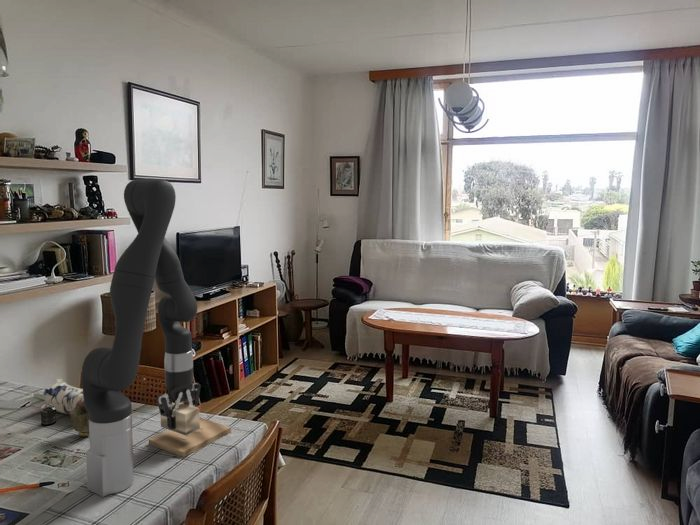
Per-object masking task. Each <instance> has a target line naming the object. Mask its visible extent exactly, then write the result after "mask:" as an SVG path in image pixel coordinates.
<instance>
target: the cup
mask: <svg viewBox="0 0 700 525" xmlns="http://www.w3.org/2000/svg"><path fill="white" fill-rule="evenodd" d="M69 417H70V421H71V426H72V428H73V429H74V431H75V432H78V433H77V435H78V436H79V437H81V438H87V437H89V415H88V411H87V410H86V408H85V405H84V404H83V405H82V406H81V407H79V406H78V407H77V409H76V408H73V409H71V411H70V415H69Z"/></svg>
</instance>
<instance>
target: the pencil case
mask: <svg viewBox="0 0 700 525" xmlns="http://www.w3.org/2000/svg"><path fill="white" fill-rule="evenodd" d="M55 380H56V381H55V383H54V384H52V385H51V386H50V387H49V389H48V388H45V389H44V391H43V394H42V396H45V397H44V404H45V406H46V405H47V404H52V405H53V406H54V407H55V408H56V411H55V412H56V413H61V414H65V415H68V416H70V411H71V409H73V408H76V409H77V407H78V406H79V407H81V406H82V405H83V404H84V397H83V388H79V387H76V386H75V387H74V386H73V385H69V384H68V383H67V382H65V381H64V380H63V378H58V379H55Z"/></svg>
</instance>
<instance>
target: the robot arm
mask: <svg viewBox="0 0 700 525" xmlns="http://www.w3.org/2000/svg"><path fill="white" fill-rule="evenodd" d="M175 191H176V190H175V188H174V186H173V184H172V183H171V182H170V181H168V180H165V179H150V178H148V179H145V178H144V179H142V178H141V179H139V178H138V179H133V180H130V181H128V183H127V184H126V186H125V187H124V190H123V199H124V200H123V201H124V203H125V204H124V205H125V208H126V209H127V212H128V215H129V217H130V218H131V221H132V222H133V225H134V227H135V229H136V231H137V235H136V237H135V238H134V239H133V240H132V242H131V243H130V244H129V245H128V247H127V248H126V249H125V250H124V252H123V253H122V254H121V256H120V257H119V259H118V260H117V261H116V264H115V266H114V270H113V273H112V278H111V283H110V287H109V299H110V303H111V308H112V312H113V316H114V323H115V334H114V340H113V344H112V347H106V346H105V347H96V348H94V349H92V350H91V351H90V352H88V354H87V355H86V356H85V358H84V360H83V363H82V366H81V367H82V368H81V385H82V387H81V388H82V389H83V397H84V405H85V408H86V410H87V411H88V415H89V436H88V437H89V449H88V450H86V451H85V458H86V459H85V461H86V462H85V463H86V483H87V484H86V486H87V489H86V490H88V491H90V492H92V493H94V494H97V495H99V496H100V497H103V498H104V497H106V496H108V495H115V494H117V493H120V492H122V491H125V490H127V489H129V487H131V486H132V485H133V483H134V481H135V478H134V476H135V473H134V448H133V447H134V446H133V445H134V444H133V443H134V442H133V413H132V412H133V408H132V407H133V406H132V401H131V400H130V399H129V398H128V397H127V396H126V395H125V394H124V393H123V392H124V391H126V390H128V388H130V387H131V386H132V384H133V383H134V381H135V380H136V377H137V374H138V372H139V371H138V370H139V367H140V360H141V350H142V343H143V334H144V329H145V323H146V318H147V313H148V307H149V303H150V298H151V295H152V291H153V288H154V284H155V283H154V282H156V286H157V288H158V289H159V291H161V292H162V293H165V294H166V295H163V296H162V297H161V298H160V300H159V302H158V303H157V304H158V305H157V316H158V321H159V324H160V328H161V330H162V333H163V336H164V351H165V352H164V361H163V362H164V384H165V386H166V389H165V393H164V394H162V395H157V396H156V403H157V406H158V411H159V414H160V416H161V415H162V416H165V417H167V426H168V427H169V429H172V430H174V429H175V428H176V418H175V414H176V410H177V409H178V407H179V403H183V404H187V405H191V406H194V407H195V406H197V405H198V404H199V400H200V393H201V387H202V385H201V383H199V382H194V357H193V356H194V355H193V351H192V350H193V344H192V342H193V341H192V332H191V331H190V330H189V329H188V328H186V327H184V326H182V325H181V323H188V322H189V323H190V322H191V321H193V320H195V318H196V316H197V313H198V303H197V299H196V297H195V295H194V293H193V291H192V289H190V286H189V284H188V283H187V282H186V280H185V277H184V272H183V269H182V265H181V262H180V259H179V257H178V255H177V252H176V251H175V249H174V248H173V246H172V245H171V244H170V242H169V241H168V240H167V238H166V234H167V231H168V227H170V226H169V225H170V222H171V220H172V216H173V213H174V211H175V207H176V199H177V198H176V197H177V196H176V192H175ZM180 322H181V323H180ZM172 403H175V404H172ZM171 409H172V412H171ZM169 429H168V430H169Z"/></svg>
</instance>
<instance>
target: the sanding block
mask: <svg viewBox="0 0 700 525" xmlns="http://www.w3.org/2000/svg"><path fill="white" fill-rule="evenodd" d="M172 404H175V403H172ZM171 412H172V409H171ZM199 417H200V408H199V407H197V406H195V405H194V406H191V405H187V404H183V402H181V403H179V407H178V409H177V410H176V414H175V418H176V428H175V429H174V430H172V429H169V427H168V426H167V417H165V416H162V415H160V428H163V429H165V430H166V429H167V430H172V431H174V432H177V433H180V434H183V435H188V434H190V433H192V432H194V431H196V430H198V429H200V421H199Z"/></svg>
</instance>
